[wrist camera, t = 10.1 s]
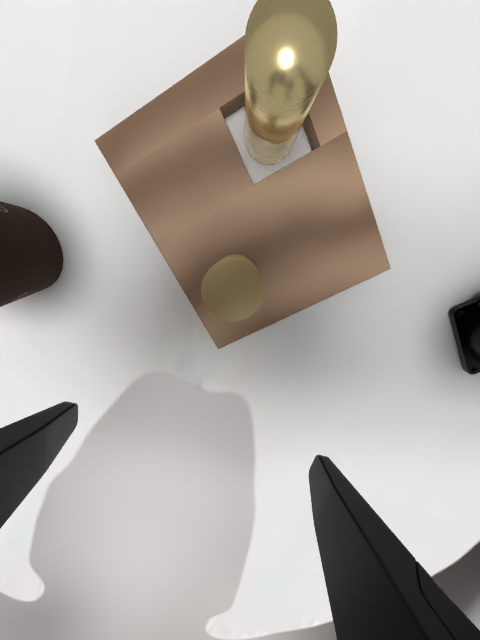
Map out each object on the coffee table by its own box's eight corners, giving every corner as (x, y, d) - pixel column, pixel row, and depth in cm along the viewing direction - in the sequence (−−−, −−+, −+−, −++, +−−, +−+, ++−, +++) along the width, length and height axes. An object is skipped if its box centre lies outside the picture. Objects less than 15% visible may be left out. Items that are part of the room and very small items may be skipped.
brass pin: (299, 115, 15) (352, -6, 8) (285, 170, 16) (318, 110, 9) (252, 101, 15) (258, -36, 8) (240, 158, 16) (235, 86, 9)
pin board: (379, 266, 18) (455, 281, 12) (220, 341, 21) (208, 389, 14) (297, 18, 14) (344, -182, 7) (107, 149, 16) (13, 86, 10)
